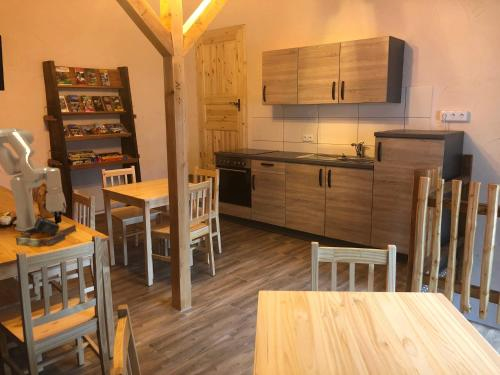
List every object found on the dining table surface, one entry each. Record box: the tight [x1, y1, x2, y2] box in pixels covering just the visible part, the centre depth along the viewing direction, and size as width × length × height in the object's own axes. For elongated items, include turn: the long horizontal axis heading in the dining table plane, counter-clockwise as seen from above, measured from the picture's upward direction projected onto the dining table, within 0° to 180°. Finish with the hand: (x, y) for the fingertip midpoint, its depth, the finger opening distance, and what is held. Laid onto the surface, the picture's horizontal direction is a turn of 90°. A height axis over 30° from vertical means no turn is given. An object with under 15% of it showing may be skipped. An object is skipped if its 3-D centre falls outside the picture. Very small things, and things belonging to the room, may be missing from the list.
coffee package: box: [37, 181, 55, 219], centre depth 269 cm, size 10×12×22 cm
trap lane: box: [15, 224, 77, 248], centre depth 229 cm, size 24×27×4 cm
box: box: [34, 216, 60, 237], centre depth 232 cm, size 8×6×11 cm
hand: (58, 222), depth 236 cm, fingers closed
